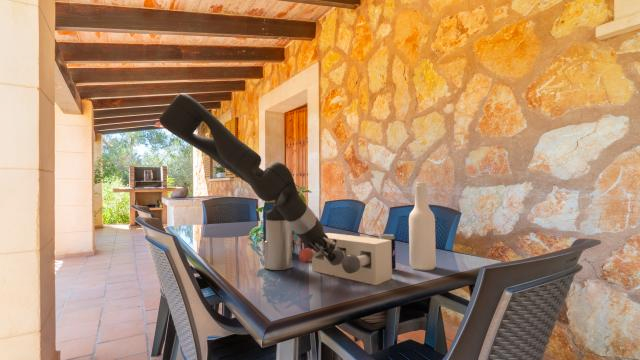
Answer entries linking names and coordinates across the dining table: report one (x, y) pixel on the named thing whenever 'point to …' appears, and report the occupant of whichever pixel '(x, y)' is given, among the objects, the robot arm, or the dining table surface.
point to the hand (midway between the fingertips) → (332, 259)
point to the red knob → (308, 254)
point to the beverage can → (392, 238)
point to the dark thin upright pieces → (267, 207)
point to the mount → (357, 246)
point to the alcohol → (422, 232)
